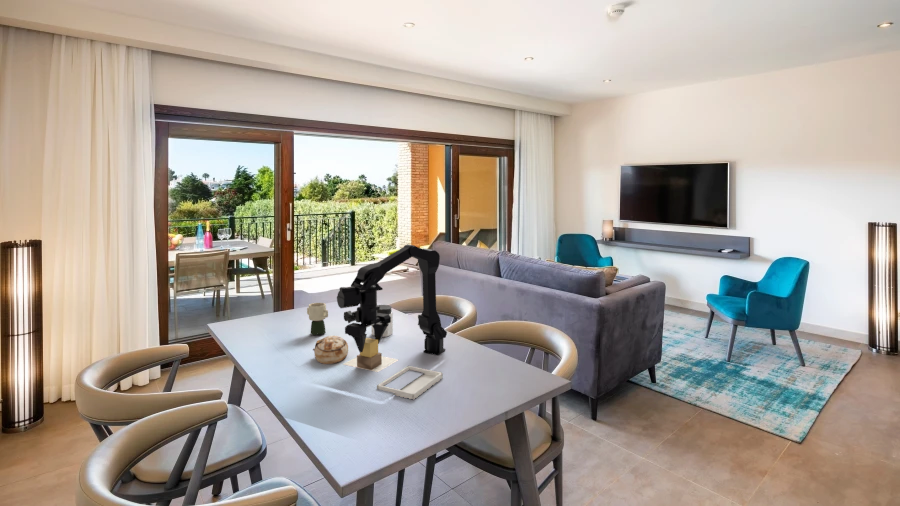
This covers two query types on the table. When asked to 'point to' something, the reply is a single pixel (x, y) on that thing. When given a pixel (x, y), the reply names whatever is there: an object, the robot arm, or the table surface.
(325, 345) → the trinket box
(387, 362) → the building board
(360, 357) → the walnut brick
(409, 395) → the cream rectangular tray
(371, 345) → the ochre brick
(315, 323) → the character mug
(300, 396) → the table surface
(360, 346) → the robot arm
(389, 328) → the jar
